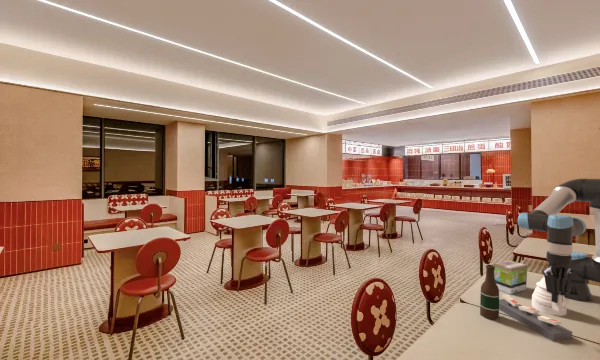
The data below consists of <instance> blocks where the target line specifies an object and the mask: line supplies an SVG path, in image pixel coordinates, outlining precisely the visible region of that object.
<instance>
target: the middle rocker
mask: <svg viewBox="0 0 600 360" xmlns="http://www.w3.org/2000/svg"><path fill="white" fill-rule="evenodd" d="M518 307H519V309H520V310H523V311H527V312H530V313H533V314H534V313H537V314H540V311H539V310H537V309H535V308H534V307H529V306H526V305H522V306H518Z"/></svg>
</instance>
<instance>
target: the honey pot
mask: <svg viewBox="0 0 600 360" xmlns="http://www.w3.org/2000/svg"><path fill="white" fill-rule="evenodd" d="M535 285H536V287H535V288H534V291H533V293H532V295H531V307H532V308H533V309H536V310H539V312H541V313H544V314H547V315H551V316H557V317H558V316H559V317H563V316H567V311H568V306H567V305H568V303H567V300H566V297H564V295H563V302H562V311H560V312H558V311H556V310H554V309H552V300H551V299H552V294H551V293H549V292H547V289H546V283H545V277H544V276H543V277H542V278H541V279H540V281H537V282H536V283H535Z"/></svg>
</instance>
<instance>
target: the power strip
mask: <svg viewBox="0 0 600 360" xmlns="http://www.w3.org/2000/svg"><path fill="white" fill-rule="evenodd" d="M520 306H523V305H521V304H520ZM499 311H501V312H503V313H505V314H506V315H508V316H509V317H511V318H513V319H515V320H516V321H518V322H520V323H522V324H523V325H525V326H526V327H528V328H530V329H531V330H534V331H535V332H537V333H539V334H540V335H542V336H544V337H545V338H547V339H549V340H550V341H552V342H557V341H563V340H572V339H573V331H571V330H570V329H569V328H568V329H567V328H566V327H564V326H562V325H561V324H559V325H553V324H550V323H547V322H544V321H541V320H538V316H542V315H541V314H540V313H534V314H533V313H530V312H527V311H523V310H520V309H519V307H518V306H515V307H514V306H513V305H511V304H510V303H509V302H508V301H506V300H505V299H504V298H499Z"/></svg>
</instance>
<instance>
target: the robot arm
mask: <svg viewBox="0 0 600 360" xmlns="http://www.w3.org/2000/svg"><path fill="white" fill-rule="evenodd" d="M574 202H583V203H584V202H586V203H589V204H588V205H589V208H591V209H593V215H594V216H593V217H594V235H595V239H594V241H595V254H593V255H592V256H591V257H590V256H589V254H588V253H585V252H581V251H573V237H578V236H581V235H582V234H584V233H585V232H586V230H587V225H586V223H585V221H584V220H583V219H580V218H578V217H572V216H570V215H566V214H559V213H560V212H561V211H562V210H563V209H564V208H565V207H566V206H567V205H569V204H572V203H574ZM517 226H519V228H521V229H525V230H530V231H536V232H543V233H546V234H547V236H546V239H547V240H546V242H547V243H546V251H547V252H546V258H545V259H546V261H547V262H548V265H547V268H546V269H542V270H541V272H542V274H543V277H545V283H546V289H547V292H549V293H551V294H552V299H551V300H552V309H554V310H556V311H558V312H560V311H562V302H563V295H564V297H565V299H566V298H567V299H571V300H576V301H582V302H584V301H585V302H588V301H592V292H591V290H590V287H589V284H588V281H590V282H595V283H599V284H600V178H575V179H571V180H569V181H568V180H567V181H565V182H562V183H561V184H559V185H557V186H556V187H554V188H553V189H552V191H551V194H550V195H549V196H548V197H546V199H545V200H544V201H542V202H541V203H540V204H539V205H538V206H536V208H534V209H533V210H532V211H530V212H529V213H528V212H521V213H519V215H518V217H517Z"/></svg>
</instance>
